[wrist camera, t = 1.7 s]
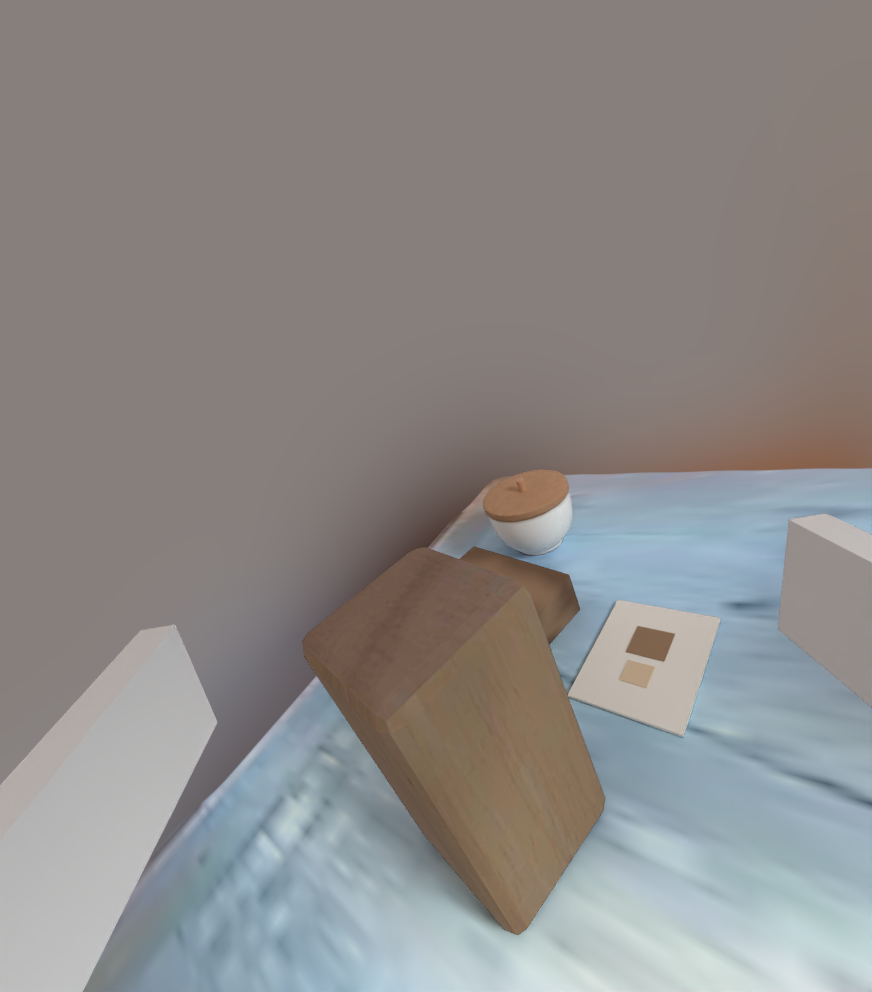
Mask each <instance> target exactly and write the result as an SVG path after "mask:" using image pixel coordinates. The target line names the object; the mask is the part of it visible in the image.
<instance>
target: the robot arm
mask: <svg viewBox="0 0 872 992" xmlns="http://www.w3.org/2000/svg"><path fill="white" fill-rule="evenodd" d="M778 630H780V631H781V632H782V633H783V634H784V635H786V636H787V637H788V638H789V639H790V640H792V641H793V642H794V643H795V644H796V645H798V646H799V647H800V648H801V649H802V650H804V651H805V652H806V653H807V654H808V655H810V656H811V657H812V658H813V659H814V660H816V661H817V662H818V663H819V664H820V665H822V666H823V667H824V668H825V669H826V670H828V671H829V672H830V673H831V674H832V675H834V676H835V677H836V678H837V679H838V680H840V681H841V682H842V683H843V684H844V685H845V686H847V687H848V688H849V689H850V690H851V691H853V692H854V693H855V694H856V695H857V696H859V697H860V698H861V699H862V700H863V701H865V702H866V703H867V704H868V705H869V706H871V707H872V534H870V533H868V532H865V531H863V530H861V529H859V528H857V527H854V526H852V525H850V524H848V523H846V522H843V521H841V520H839V519H837V518H835V517H832V516H830V515H828V514H826V513H825V514H819V515H813V516H807V517H802V518H796V519H790V520H789V523H788V533H787V543H786V553H785V563H784V573H783V583H782V593H781V603H780V613H779V623H778ZM216 724H217V720H216V718H215V716H214V713H213V711H212V709H211V706H210V704H209V702H208V699H207V697H206V695H205V692H204V690H203V688H202V686H201V683H200V681H199V679H198V676H197V674H196V672H195V670H194V667H193V665H192V662H191V660H190V658H189V655H188V653H187V651H186V648H185V646H184V644H183V642H182V639H181V637H180V635H179V632H178V630H177V628H176V625H170V626H164V627H158V628H152V629H146V630H141V631H139V632H138V634H137V635H136V636H135V637H134V638H133V639H132V640H131V641H130V642H129V644H128V645H127V646H126V647H125V648H124V649H123V650H122V651H121V652H120V653H119V655H118V656H117V657H116V658H115V659H114V660H113V661H112V662H111V663H110V664H109V666H108V667H107V668H106V669H105V670H104V671H103V672H102V674H100V676H99V677H98V678H97V679H96V680H95V681H94V682H93V683H92V684H91V686H90V687H89V688H88V689H87V690H86V691H85V692H84V693H83V694H82V695H81V697H80V698H79V699H78V700H77V701H76V702H75V703H74V704H73V705H72V707H71V708H70V709H69V710H68V711H67V712H66V713H65V714H64V715H63V716H62V717H61V719H60V720H59V721H58V722H57V723H56V724H55V725H54V726H53V727H52V729H51V730H50V731H49V732H48V733H47V734H46V735H45V736H44V737H43V738H42V740H41V741H40V742H39V743H38V744H37V745H36V746H35V747H34V749H33V750H32V751H31V752H30V753H29V754H28V755H27V756H26V757H25V758H24V759H23V761H22V762H21V763H20V764H19V765H18V766H17V767H16V768H15V769H14V770H13V772H12V773H11V774H10V775H9V776H8V777H7V778H6V779H5V780H4V782H3V783H2V784H1V785H0V992H83V990H84V988H85V986H86V984H87V982H88V980H89V978H90V976H91V974H92V972H93V970H94V968H95V966H96V964H97V962H98V960H99V958H100V956H101V954H102V952H103V950H104V948H105V946H106V944H107V942H108V940H109V938H110V936H111V934H112V932H113V930H114V928H115V926H116V924H117V922H118V920H119V918H120V916H121V914H122V912H123V910H124V908H125V906H126V904H127V902H128V900H129V898H130V896H131V894H132V892H133V890H134V888H135V886H136V884H137V882H138V880H139V878H140V876H141V874H142V872H143V870H144V868H145V866H146V864H147V862H148V860H149V858H150V856H151V854H152V852H153V850H154V848H155V846H156V844H157V842H158V840H159V838H160V836H161V834H162V832H163V830H164V828H165V826H166V824H167V822H168V820H169V818H170V816H171V814H172V812H173V810H174V808H175V806H176V804H177V802H178V800H179V798H180V796H181V794H182V792H183V790H184V788H185V786H186V784H187V782H188V780H189V778H190V776H191V774H192V772H193V770H194V768H195V766H196V764H197V762H198V760H199V758H200V756H201V754H202V752H203V750H204V748H205V746H206V744H207V742H208V740H209V738H210V736H211V734H212V732H213V730H214V728H215V726H216Z"/></svg>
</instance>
